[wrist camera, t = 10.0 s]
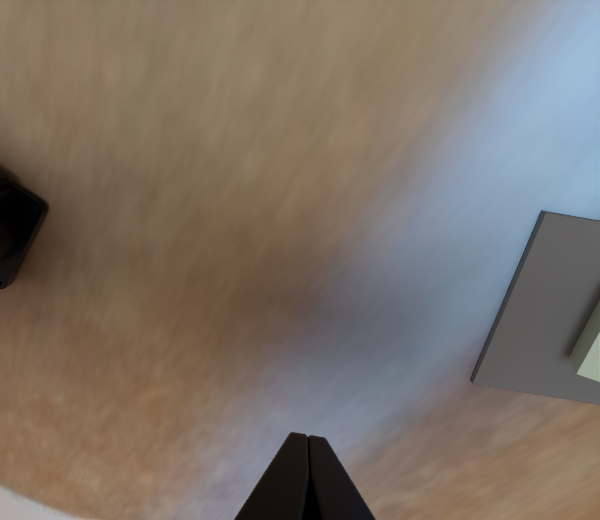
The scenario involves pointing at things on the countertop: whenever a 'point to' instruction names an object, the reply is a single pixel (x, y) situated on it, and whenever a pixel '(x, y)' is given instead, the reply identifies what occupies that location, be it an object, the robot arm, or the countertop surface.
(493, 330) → the mat
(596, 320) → the domino
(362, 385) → the countertop surface
